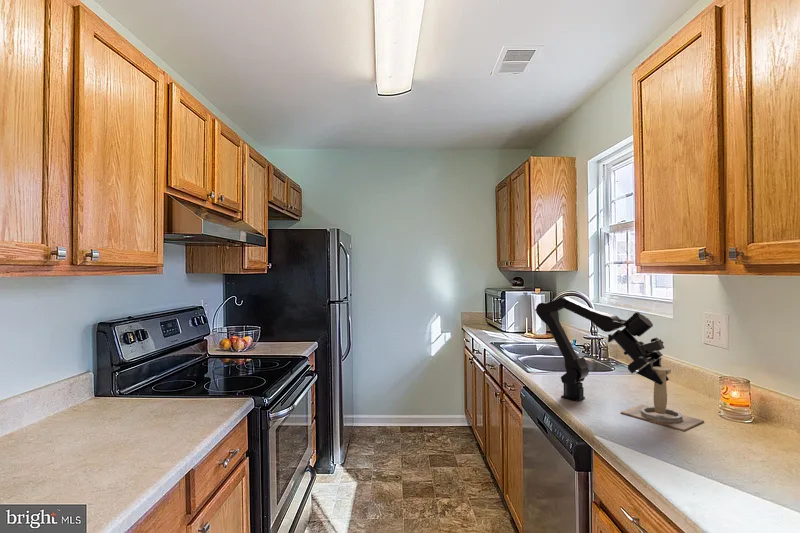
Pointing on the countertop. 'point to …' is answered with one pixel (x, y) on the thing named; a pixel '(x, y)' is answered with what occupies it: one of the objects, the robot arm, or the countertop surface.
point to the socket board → (663, 417)
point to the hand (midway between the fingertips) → (664, 382)
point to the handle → (661, 390)
